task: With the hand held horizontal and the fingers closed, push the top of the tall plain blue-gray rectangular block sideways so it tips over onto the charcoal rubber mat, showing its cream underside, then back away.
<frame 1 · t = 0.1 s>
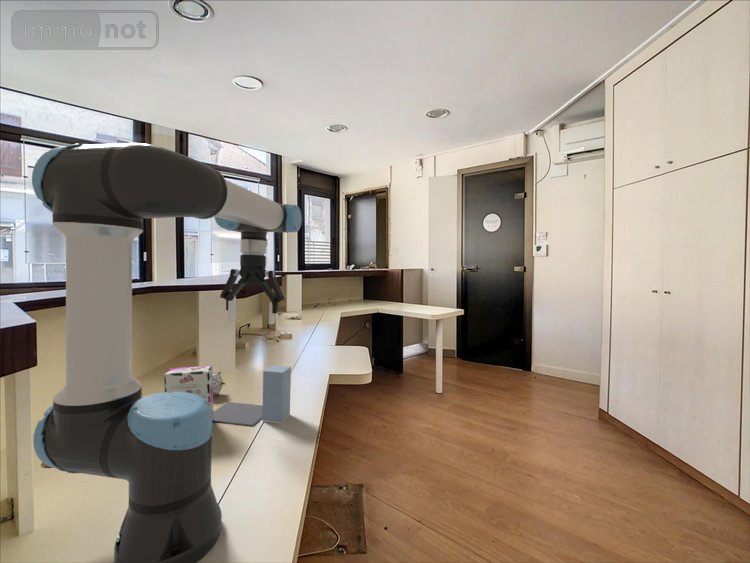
hand: (251, 322, 105), 28 cm above the counter, tool pointing down, fingers open, 13 cm apart
mat: (239, 413, 104), on the counter
plain blue-gray rectangular block: (276, 417, 102), on the counter
candy bar box: (190, 425, 95), on the counter, touching mat
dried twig: (211, 396, 117), on the counter
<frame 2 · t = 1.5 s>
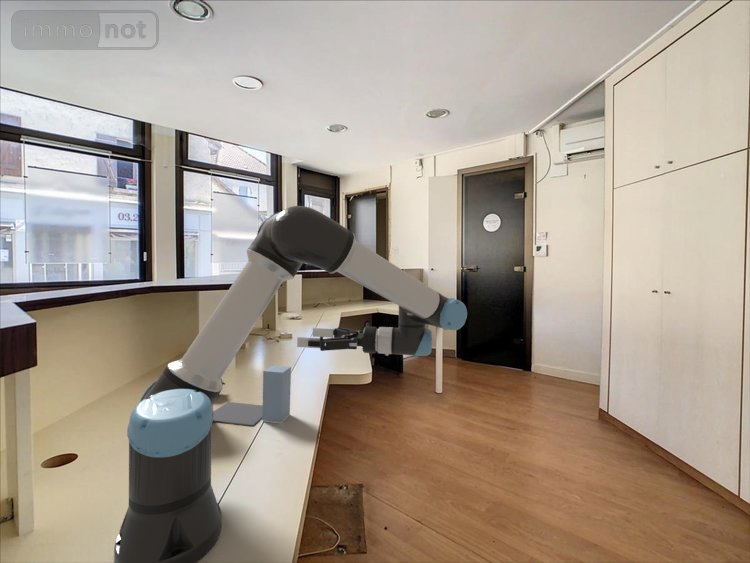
hand: (305, 336, 100), 25 cm above the counter, tool horizontal, fingers open, 13 cm apart
nothing on the counter moved.
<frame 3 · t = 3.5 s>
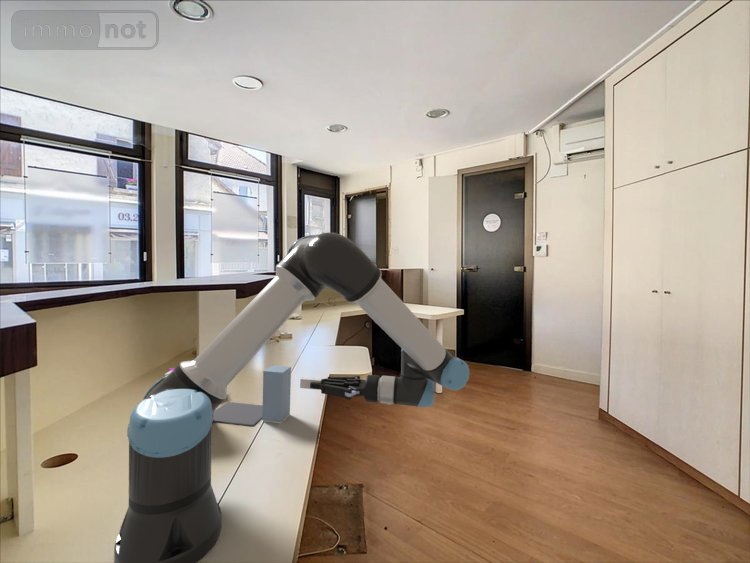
hand: (301, 382, 101), 11 cm above the counter, tool horizontal, fingers closed
nothing on the counter moved.
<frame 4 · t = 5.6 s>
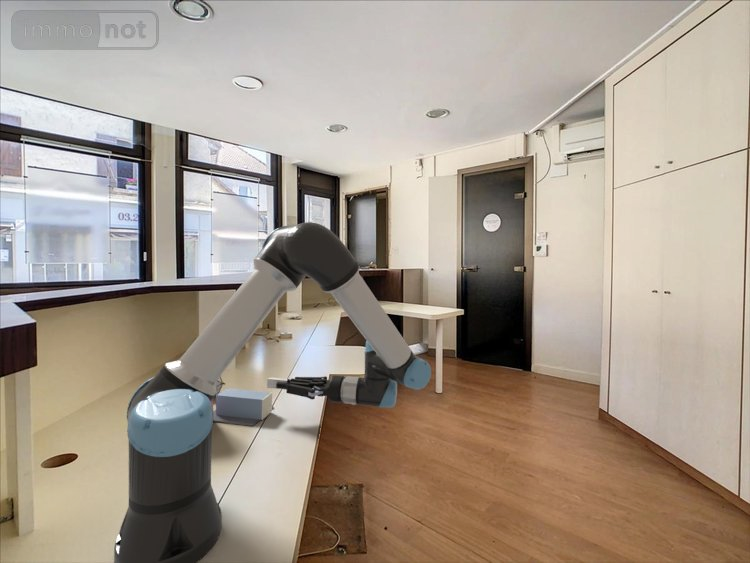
hand: (268, 382, 103), 10 cm above the counter, tool horizontal, fingers closed
plain blue-gray rectangular block: (267, 405, 102), point 3 cm above the counter, tilted 90°, touching mat
everything else where it was.
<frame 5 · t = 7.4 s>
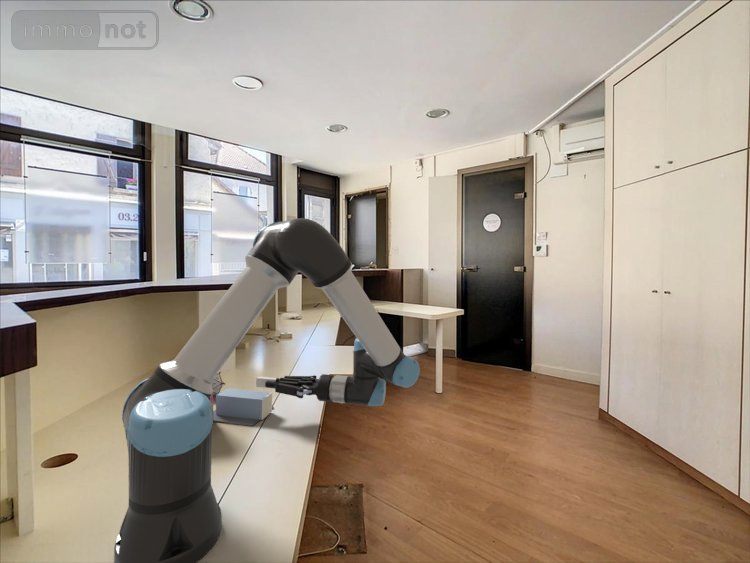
hand: (257, 381, 103), 11 cm above the counter, tool horizontal, fingers closed
nothing on the counter moved.
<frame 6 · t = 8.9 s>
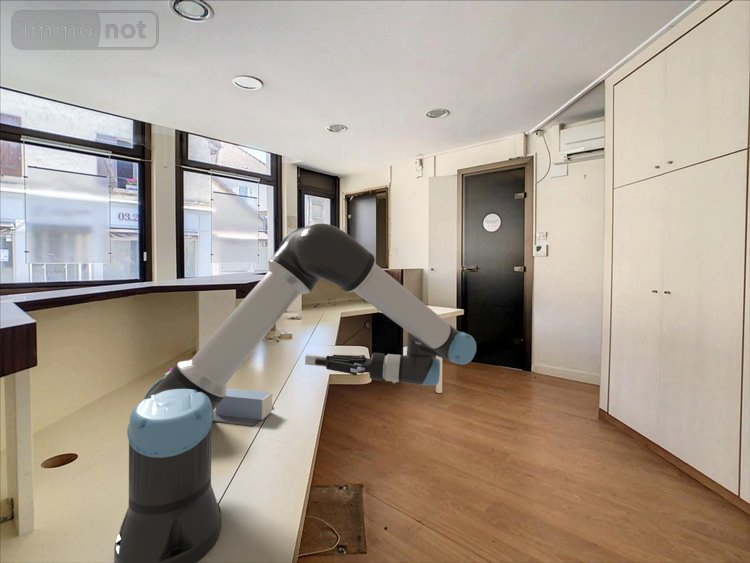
hand: (306, 359, 100), 18 cm above the counter, tool horizontal, fingers closed
nothing on the counter moved.
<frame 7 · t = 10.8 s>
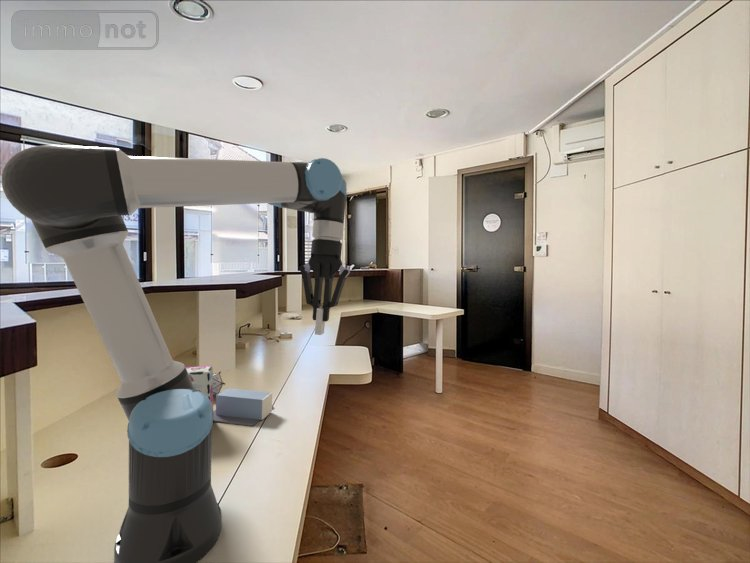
hand: (319, 333, 85), 29 cm above the counter, tool pointing down, fingers closed
nothing on the counter moved.
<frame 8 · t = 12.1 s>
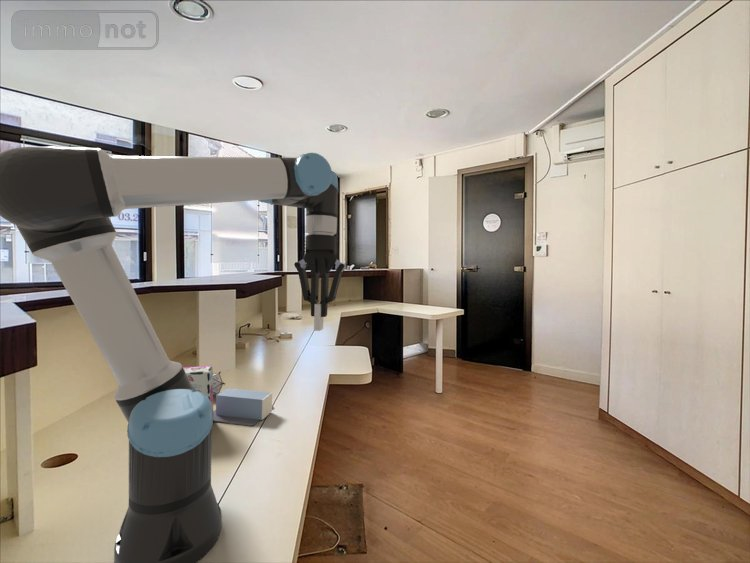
hand: (318, 329, 84), 30 cm above the counter, tool pointing down, fingers closed
nothing on the counter moved.
at the end: plain blue-gray rectangular block tilted 90°; plain blue-gray rectangular block inside the target area (8.6 cm from its centre), point 3.4 cm above the counter; the gripper is holding nothing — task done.
